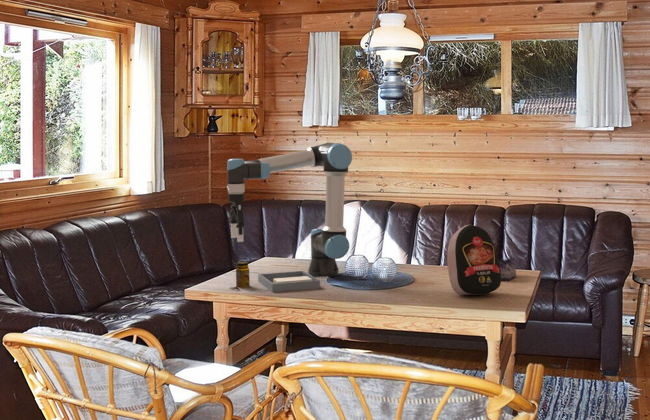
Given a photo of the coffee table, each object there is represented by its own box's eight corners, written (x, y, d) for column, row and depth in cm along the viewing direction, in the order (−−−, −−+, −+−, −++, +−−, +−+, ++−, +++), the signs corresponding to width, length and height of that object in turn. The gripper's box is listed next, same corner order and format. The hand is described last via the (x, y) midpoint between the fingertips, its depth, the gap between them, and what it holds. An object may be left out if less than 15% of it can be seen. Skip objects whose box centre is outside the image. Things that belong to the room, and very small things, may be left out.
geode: (496, 273, 429) (500, 253, 427) (520, 278, 423) (523, 258, 422) (484, 279, 411) (487, 258, 409) (508, 284, 405) (511, 263, 404)
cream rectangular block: (307, 284, 402) (306, 276, 401) (312, 287, 394) (312, 279, 394) (273, 287, 397) (273, 278, 396) (277, 290, 389) (277, 281, 389)
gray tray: (303, 280, 418) (303, 270, 417) (320, 290, 393) (319, 280, 393) (258, 283, 411) (258, 274, 411) (272, 294, 387) (272, 284, 386)
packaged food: (463, 301, 367) (464, 230, 364) (439, 292, 385) (439, 224, 382) (507, 296, 376) (508, 226, 372) (481, 288, 394) (482, 221, 390)
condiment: (253, 288, 400) (252, 262, 399) (236, 291, 395) (235, 264, 394) (245, 286, 406) (244, 260, 405) (229, 288, 401) (228, 262, 400)
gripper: (222, 191, 407) (223, 236, 409) (233, 195, 383) (234, 244, 386) (238, 190, 409) (239, 235, 411) (250, 195, 385) (251, 243, 388)
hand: (237, 239), depth 399 cm, fingers open, 13 cm apart
